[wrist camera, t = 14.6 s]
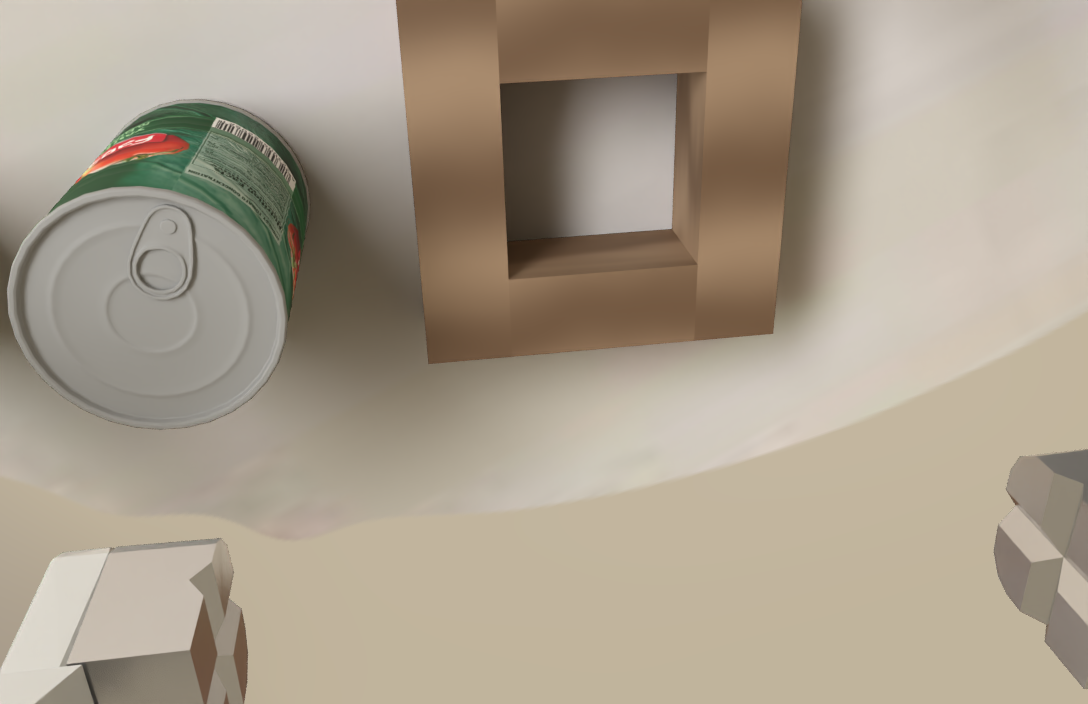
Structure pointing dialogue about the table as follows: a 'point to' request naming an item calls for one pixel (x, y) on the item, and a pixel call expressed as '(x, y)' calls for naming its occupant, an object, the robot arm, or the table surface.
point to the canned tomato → (166, 269)
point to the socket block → (608, 259)
